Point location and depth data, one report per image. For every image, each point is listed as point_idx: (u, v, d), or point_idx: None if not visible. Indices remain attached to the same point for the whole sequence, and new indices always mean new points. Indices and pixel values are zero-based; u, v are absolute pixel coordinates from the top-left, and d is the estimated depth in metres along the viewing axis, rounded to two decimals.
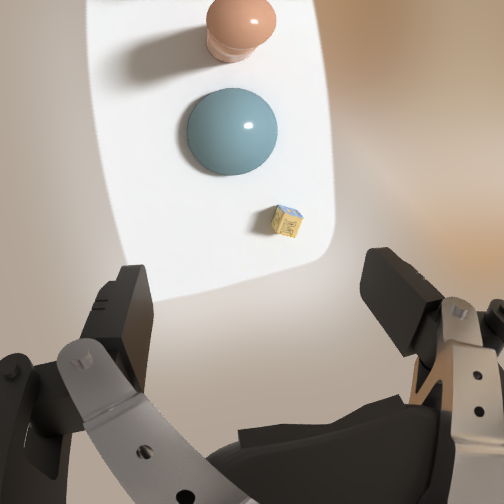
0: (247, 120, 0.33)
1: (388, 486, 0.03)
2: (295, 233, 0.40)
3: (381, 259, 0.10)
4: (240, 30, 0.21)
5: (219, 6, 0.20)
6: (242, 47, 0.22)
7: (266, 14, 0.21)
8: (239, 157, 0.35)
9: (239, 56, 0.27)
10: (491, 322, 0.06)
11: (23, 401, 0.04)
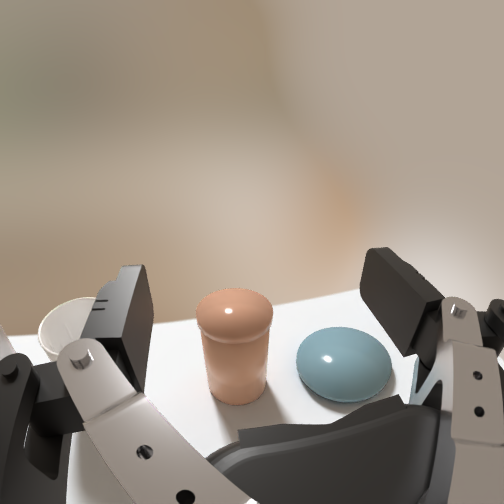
0: (329, 350, 0.32)
1: (388, 486, 0.03)
2: None
3: (381, 259, 0.10)
4: (250, 309, 0.25)
5: (219, 327, 0.23)
6: (270, 306, 0.25)
7: (225, 294, 0.27)
8: (368, 349, 0.31)
9: None
10: (491, 322, 0.06)
11: (23, 400, 0.04)
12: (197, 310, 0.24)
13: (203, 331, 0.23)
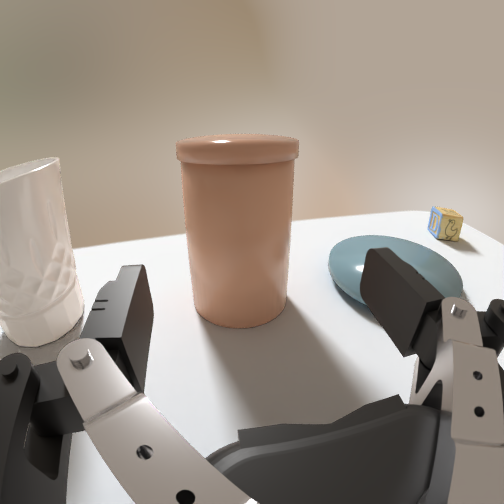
0: None
1: (388, 486, 0.03)
2: (449, 209, 0.29)
3: (381, 259, 0.10)
4: (262, 138, 0.15)
5: (212, 144, 0.13)
6: (294, 139, 0.15)
7: (223, 135, 0.17)
8: (423, 257, 0.22)
9: None
10: (491, 322, 0.06)
11: (23, 400, 0.04)
12: (178, 141, 0.15)
13: (185, 156, 0.13)
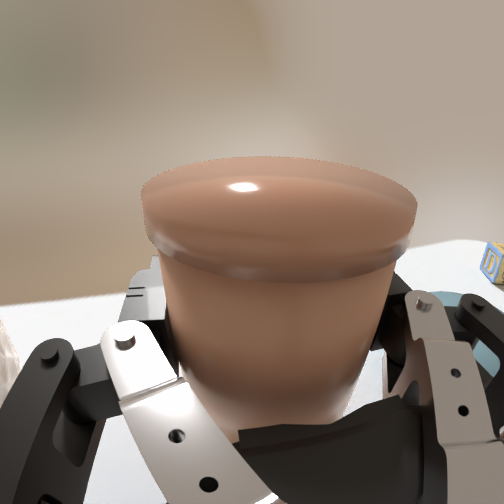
0: None
1: (380, 500, 0.03)
2: None
3: None
4: (333, 179, 0.07)
5: (230, 209, 0.05)
6: (388, 181, 0.07)
7: (243, 161, 0.09)
8: None
9: None
10: (463, 319, 0.07)
11: (60, 387, 0.05)
12: (150, 182, 0.07)
13: (158, 237, 0.05)
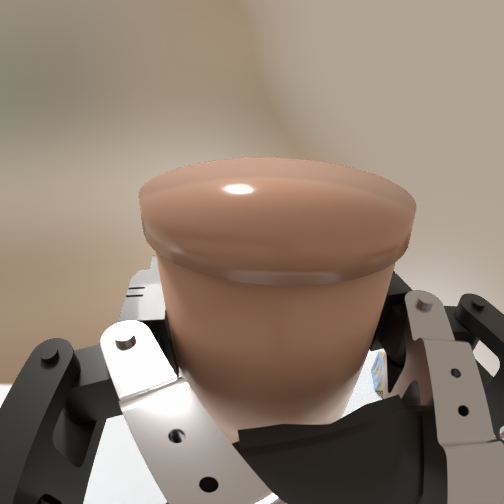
0: None
1: (380, 499, 0.03)
2: None
3: None
4: (332, 180, 0.07)
5: (227, 212, 0.05)
6: None
7: (242, 162, 0.09)
8: None
9: None
10: (463, 319, 0.07)
11: (60, 387, 0.05)
12: (148, 184, 0.07)
13: (155, 239, 0.05)
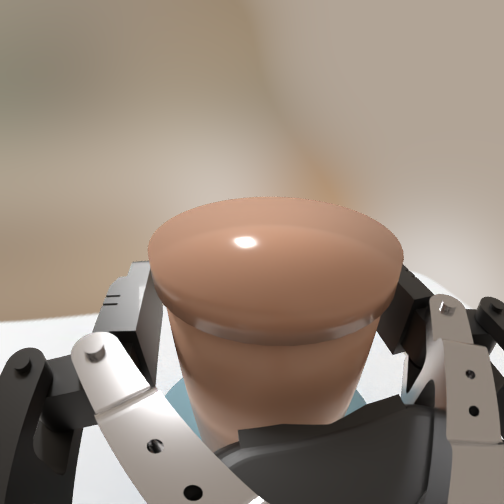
0: None
1: (385, 491, 0.03)
2: None
3: None
4: (327, 230, 0.08)
5: (230, 279, 0.06)
6: (380, 226, 0.08)
7: (242, 205, 0.09)
8: None
9: None
10: (482, 321, 0.06)
11: (35, 395, 0.04)
12: (155, 236, 0.07)
13: (167, 299, 0.06)
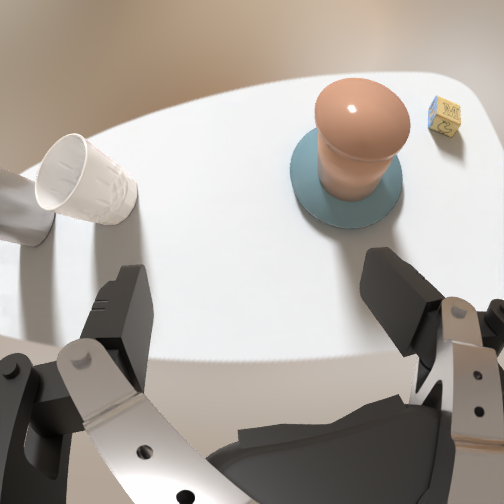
0: None
1: (388, 486, 0.03)
2: (455, 104, 0.23)
3: (381, 259, 0.10)
4: (383, 116, 0.16)
5: (347, 140, 0.17)
6: (407, 116, 0.16)
7: (350, 87, 0.17)
8: None
9: None
10: (491, 322, 0.06)
11: (23, 400, 0.04)
12: (316, 110, 0.17)
13: (325, 141, 0.17)
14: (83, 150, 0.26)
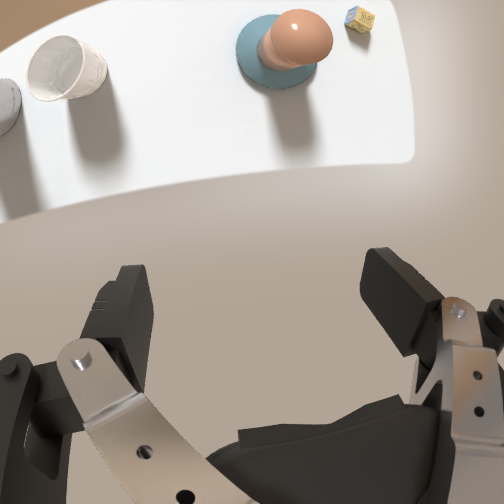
0: None
1: (388, 486, 0.03)
2: (371, 14, 0.29)
3: (381, 259, 0.10)
4: (316, 38, 0.24)
5: (291, 52, 0.24)
6: (332, 39, 0.24)
7: (297, 16, 0.22)
8: None
9: None
10: (491, 322, 0.06)
11: (23, 400, 0.04)
12: (273, 30, 0.23)
13: (276, 50, 0.24)
14: (64, 43, 0.22)
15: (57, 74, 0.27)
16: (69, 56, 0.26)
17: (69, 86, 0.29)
